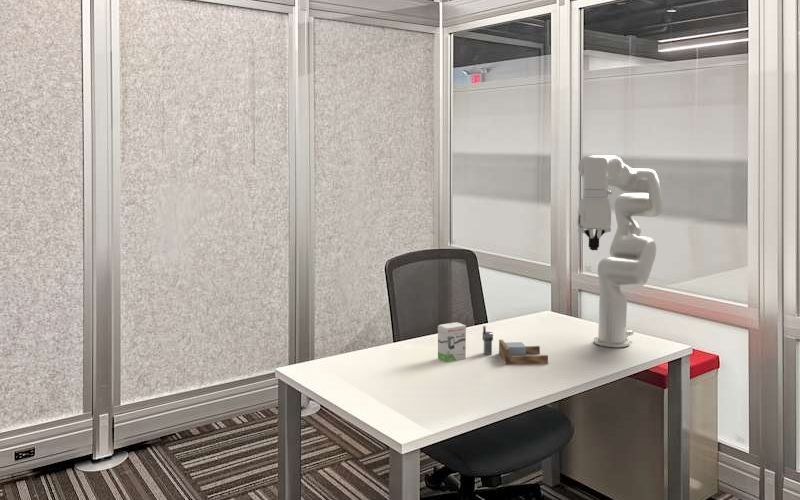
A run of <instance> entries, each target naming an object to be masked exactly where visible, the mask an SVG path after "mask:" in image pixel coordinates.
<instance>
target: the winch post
mask: <svg viewBox="0 0 800 500" xmlns="http://www.w3.org/2000/svg"><path fill="white" fill-rule="evenodd" d="M482 328H483V329H482V330H483V332H482V341H483V354H484V356H489V355H490V356H492V354H493V352H492V349H493V348H492V347H493V344H492V343H493V340H494V332H493V331H492V332H491V331H486V328H487V327H486V325H483V327H482Z"/></svg>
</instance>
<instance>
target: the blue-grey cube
mask: <svg viewBox="0 0 800 500" xmlns="http://www.w3.org/2000/svg"><path fill="white" fill-rule="evenodd" d="M505 343H506V345H507V346H508V348H509V349H510V356H527V354H526V346H527V345H525V344H524V343H523V341H517V342H516V341H515V342H505Z"/></svg>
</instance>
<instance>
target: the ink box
mask: <svg viewBox="0 0 800 500" xmlns="http://www.w3.org/2000/svg"><path fill="white" fill-rule="evenodd" d="M466 336H467V325H465V324H462V323H461V322H458V321H457V322H450V323H449V322H447V323H444V324H443V323H442V324H439V325H437V360H440V361H441V362H442V361H443V362H444V363H447V362H448V363H449V362H453V361H454V362H455V361H459V360H465V359H466V358H467V357H466V356H467V355H466V351H467V350H466V348H467V347H466V345H467V344H466V343H467V340H466V339H467V337H466Z"/></svg>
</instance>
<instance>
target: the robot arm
mask: <svg viewBox="0 0 800 500" xmlns="http://www.w3.org/2000/svg"><path fill="white" fill-rule="evenodd" d="M577 168H578V172H579V175H580V176H581V178H583V198H581V199H580V201H579V207H578V212H577V213H578V214H577V226H578V228H577V232H579V233H581V234H585V235H586V236H587V238H588V249H590V250H591V251H598V248H600V239H601V237H602V236H603V235H604V234H606V233H610V232H612V231H611V230H612V228H611V226H612V208H611V207H612V206H611V201H610V198H609V196H611V195H612V194H613V191H612V190H609V188H608V187H609V186H611V187H614V188H616V189H618V190H620V191H622V192H626V193H622V194H619V195H618V196H617V197H616V198H615V200H614V214H615V219H616V224H617V227H616V230H615V234H614V235H613V239H612V241H611V243H610V244H611V245H610V246H609V247H610V248H609V254H610V257H609V256H608V257H604V258H602V259H601V260H600V261H599V262H598V265H597V275H598V283H599V301H598V302H599V304H598V328H597V329H598V331H597V336H596V337H594V338H593V343H594V344H596V345H598V346H601V347H606V348H625V347H629V346H630V345H631V344H630V343H631V341H630V340H629V339H628V337H629V336H633V335H634V331H633V330H631V329H630V330H627V312H628V311H627V310H628V309H627V308H628V296H627V293H626V291H625V288H624V287H623V286H630V287H631V286H632V287H643V286H644V285H646V284H647V282H648V280H649V277H650V274H651V271H652V268H653V265H654V262H655V259H656V255H657V244H656V242H655V240H654V239H652V237H647V236H640V235H641V231H642V230H641V227H640V225H639V223H637V221H636V220H635V219H634V218H633V217H648V218H649V217H651V218H653V217H654V218H655V217H658V216H659V215H661V213H662V211H663V206H664V202H663V195H662V190H661V184H660V180H659V177H658V174H657V173H656V171H655V170H654V169H651V168H632V167H630V166H629V165H627V164H625V163H624V162H623V160H622V159H621V158H620V157H618V156H616V155H587V156H586V155H585V156H583V157H581V159H580V160H579V163H578V167H577ZM594 230H595V231H594Z"/></svg>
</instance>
